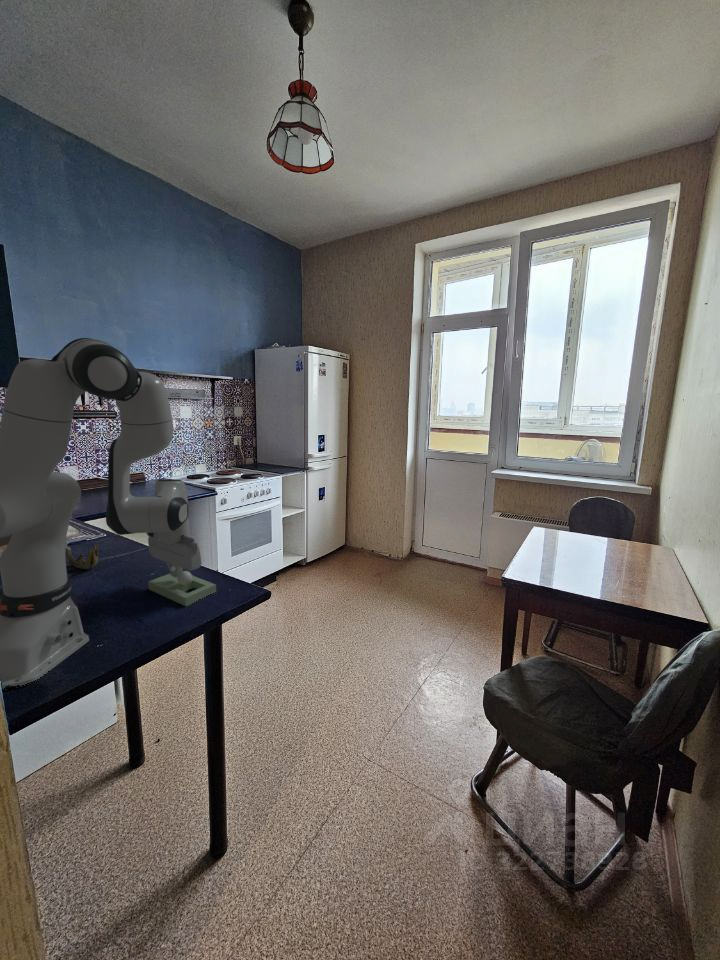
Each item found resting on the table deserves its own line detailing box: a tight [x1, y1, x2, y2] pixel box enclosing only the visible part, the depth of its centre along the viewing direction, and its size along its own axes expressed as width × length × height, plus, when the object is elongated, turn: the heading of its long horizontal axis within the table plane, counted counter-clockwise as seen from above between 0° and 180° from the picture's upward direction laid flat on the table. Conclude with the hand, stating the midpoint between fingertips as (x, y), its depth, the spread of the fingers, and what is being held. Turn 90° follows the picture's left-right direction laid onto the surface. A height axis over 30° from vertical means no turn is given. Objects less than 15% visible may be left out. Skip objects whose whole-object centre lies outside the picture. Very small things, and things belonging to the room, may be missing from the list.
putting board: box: [147, 570, 217, 607], centre depth 115 cm, size 18×10×2 cm, turn 59°
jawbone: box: [65, 542, 99, 570], centre depth 129 cm, size 9×15×10 cm
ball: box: [177, 570, 193, 585], centre depth 114 cm, size 4×4×4 cm
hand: (176, 576), depth 116 cm, fingers closed
